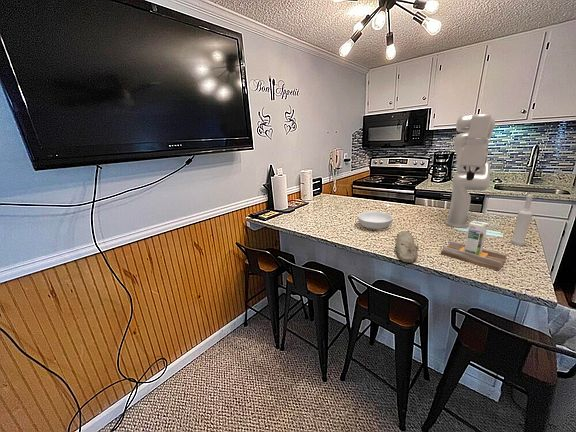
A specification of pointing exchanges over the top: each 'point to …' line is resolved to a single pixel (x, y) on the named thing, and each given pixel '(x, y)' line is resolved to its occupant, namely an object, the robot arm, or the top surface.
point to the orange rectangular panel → (479, 255)
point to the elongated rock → (406, 247)
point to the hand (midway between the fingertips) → (469, 179)
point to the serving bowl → (375, 219)
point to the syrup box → (475, 237)
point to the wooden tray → (475, 256)
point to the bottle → (522, 223)
